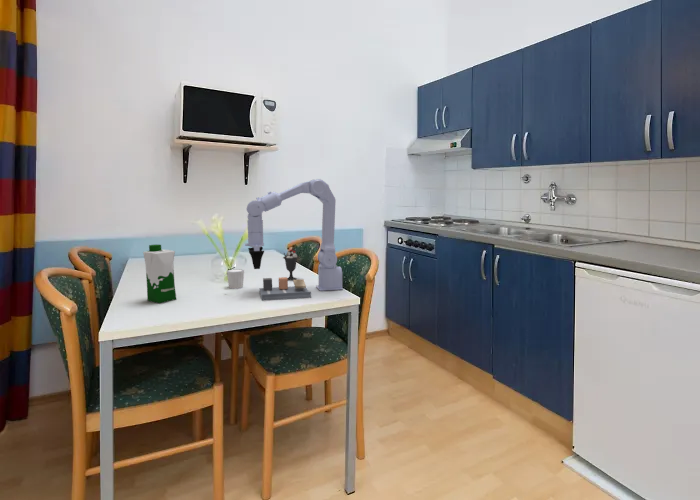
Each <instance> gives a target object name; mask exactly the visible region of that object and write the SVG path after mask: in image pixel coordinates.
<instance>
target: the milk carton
mask: <svg viewBox="0 0 700 500" xmlns="http://www.w3.org/2000/svg"><path fill="white" fill-rule="evenodd" d="M148 248H149V249H148V250H146V251H143V252H142V253H143V258H144V264H145V275H146V277H145V278H146V293H147V295H146V296H147V297H146V298H147V302H148V301H149V302H151V301H152V302H153V303H156V302H157V304H163V303H166V302H170V301H174V300H177V294H176V286H175V272H174V271H175V270H174V269H175V267H174V261H175V253H176V251H175V250H171V249H162V244H149V245H148Z"/></svg>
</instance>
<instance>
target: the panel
mask: <svg viewBox="0 0 700 500" xmlns="http://www.w3.org/2000/svg"><path fill="white" fill-rule="evenodd" d="M259 295H260V299H261V301H262V302H263V301H264V302H265V301H278V300H293V299H309V298H312V291H309V290H308V288H307V287H306V288H295V285H293V286H288V289H279V286H278V287H276V286H275V287H272V290H264V289H263V287H260V288H259Z"/></svg>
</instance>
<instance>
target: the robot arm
mask: <svg viewBox="0 0 700 500" xmlns="http://www.w3.org/2000/svg"><path fill="white" fill-rule="evenodd" d="M300 194H309V195H311V196H314V197H315V198H317V199H318V200H319V201H320V202H321V203H322V219H321V220H322V222H321V223H322V225H321V244H320V246H319V252H318V254H317V260H318V262H319V264H318V274H317V275H318V285H315V287H316V288H317V290H319V291H321V292H323V291H338V290H341V291H342V290H344V289H343V269H342V267H341V266H337V262H338V256H337V254H336V247H335V228H336V227H335V225H336V223H335V222H336V220H335V219H336V200H337V199H336V197H335V195H334V194H333V192H332V190H331V188H330V185H329V184H328V183H327V182H326V181H324V180H323V179H321V178H316V179H312V180H308V181H304V182H300V183H297V184H296V185H293V186H292V187H290V188H289V187H288V189H285V190H283V191H281V192H276V191H268V192H267V194H265V195H264V196H261V197H256V200H251V201H249V202H248V203H247V205H246V211H247V220H246V221H247V243H244V246H246V247H248V248H247V249H248V253H249V254H250V257H251V261H252V266H253V269H254V270H260V269H261V264H262V259H263V256H264V253H265V250H263V249H264V248H263V247H264V246H265V243H264V222H263V221H264V220H263V213H264V212H266V213H267V212H268V211H270V210H273V209H275V208H277V207H279V206H281V205H282V201H285V200H287V199H290V198H292V197H294V196H297V195H300Z"/></svg>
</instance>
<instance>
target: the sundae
mask: <svg viewBox="0 0 700 500" xmlns="http://www.w3.org/2000/svg"><path fill="white" fill-rule="evenodd" d="M295 248H296V245H294V246H293V247H292V249H289V251H287V252H286V253H285V252H283V254H284V256H283V257H282V259H284V262H285V267H286V270H287V272H289V275H288V276H289V277H287V279H288V281H293V280H297V277H294V276H293V272H294V271H295V270H296V267H297V259H298V258H299V256H298V255H297V253H296V250H294V249H295Z"/></svg>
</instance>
